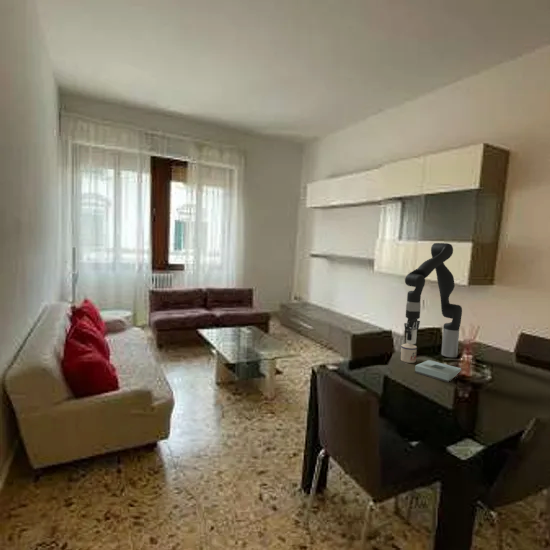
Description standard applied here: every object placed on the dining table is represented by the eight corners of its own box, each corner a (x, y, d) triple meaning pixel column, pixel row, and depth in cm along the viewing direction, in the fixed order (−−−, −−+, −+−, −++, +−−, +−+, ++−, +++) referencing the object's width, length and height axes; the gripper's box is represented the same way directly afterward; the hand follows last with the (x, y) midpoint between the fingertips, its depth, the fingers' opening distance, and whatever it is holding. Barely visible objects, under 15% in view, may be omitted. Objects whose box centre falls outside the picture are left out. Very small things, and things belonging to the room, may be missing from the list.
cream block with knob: (409, 341, 214) (410, 326, 213) (416, 343, 211) (417, 328, 210) (405, 342, 211) (406, 327, 210) (412, 344, 208) (413, 329, 207)
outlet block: (428, 366, 215) (428, 359, 215) (460, 375, 202) (461, 368, 202) (414, 372, 204) (415, 365, 204) (448, 382, 191) (448, 374, 191)
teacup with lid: (413, 364, 219) (414, 344, 218) (397, 360, 224) (399, 341, 223) (420, 359, 228) (421, 341, 227) (405, 356, 234) (406, 338, 232)
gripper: (413, 307, 217) (411, 336, 218) (400, 309, 207) (398, 340, 209) (425, 309, 211) (423, 339, 213) (413, 312, 202) (411, 343, 203)
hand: (411, 339), depth 211 cm, fingers closed on cream block with knob, 4 cm apart
